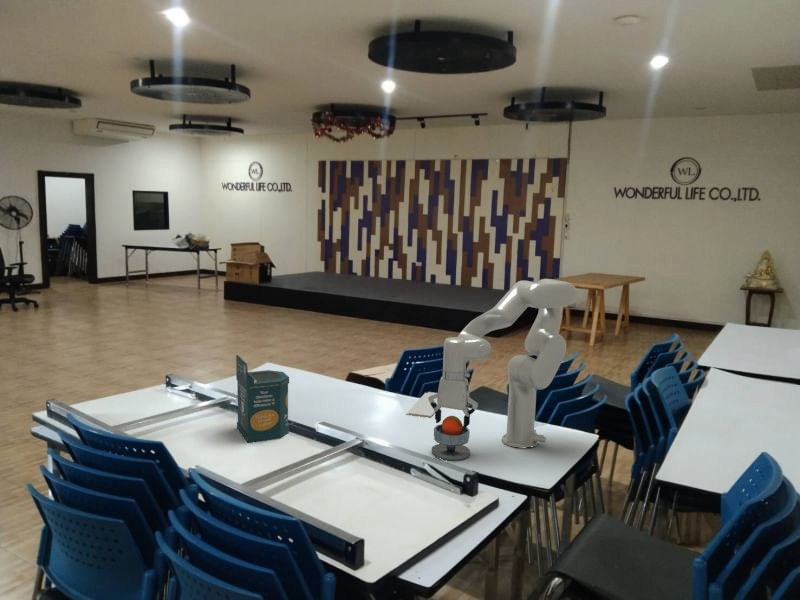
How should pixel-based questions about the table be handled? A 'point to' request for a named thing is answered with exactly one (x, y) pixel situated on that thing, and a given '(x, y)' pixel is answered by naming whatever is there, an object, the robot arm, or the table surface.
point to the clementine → (452, 425)
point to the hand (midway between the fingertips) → (452, 424)
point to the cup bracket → (451, 445)
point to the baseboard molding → (423, 406)
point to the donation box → (261, 403)
